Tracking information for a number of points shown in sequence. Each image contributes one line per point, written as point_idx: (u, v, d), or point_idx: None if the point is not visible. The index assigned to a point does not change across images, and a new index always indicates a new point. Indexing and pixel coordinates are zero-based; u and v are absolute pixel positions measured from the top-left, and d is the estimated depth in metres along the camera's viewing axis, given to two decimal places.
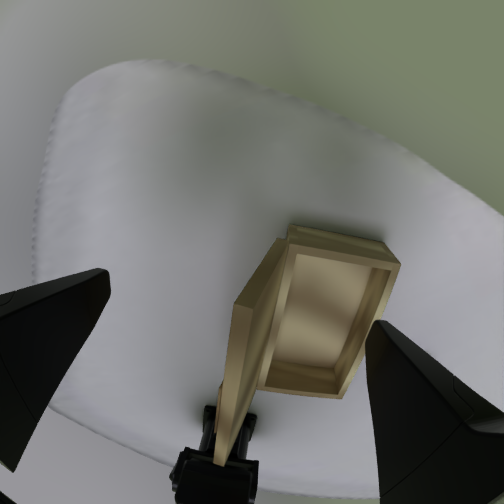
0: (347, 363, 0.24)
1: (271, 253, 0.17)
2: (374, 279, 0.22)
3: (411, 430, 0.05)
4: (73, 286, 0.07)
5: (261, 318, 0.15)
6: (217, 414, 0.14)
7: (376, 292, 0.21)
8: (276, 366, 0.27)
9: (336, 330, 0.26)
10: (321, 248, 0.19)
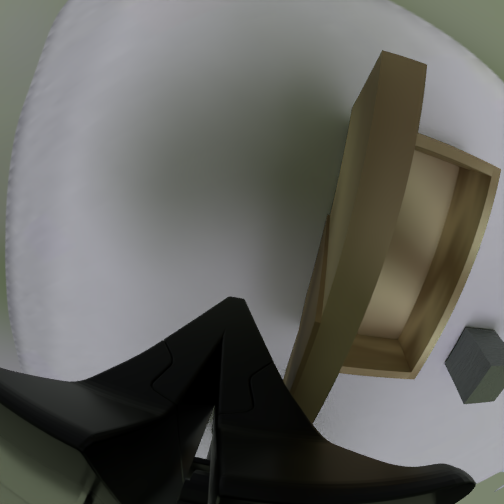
0: (426, 325, 0.16)
1: None
2: (461, 200, 0.14)
3: None
4: (229, 325, 0.07)
5: None
6: None
7: (469, 213, 0.13)
8: None
9: (408, 280, 0.18)
10: None
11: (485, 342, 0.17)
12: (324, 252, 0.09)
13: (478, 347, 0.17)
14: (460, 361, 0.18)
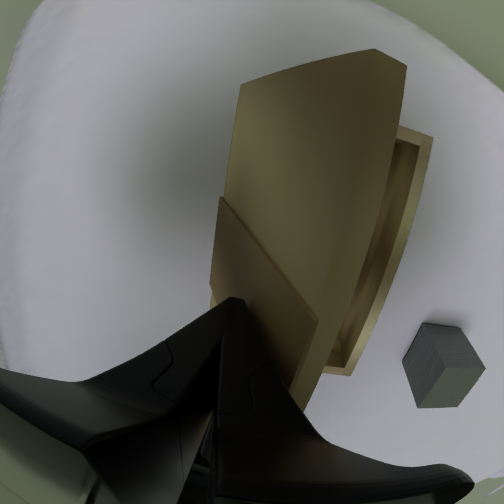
0: (359, 316, 0.16)
1: None
2: (394, 178, 0.14)
3: None
4: (230, 325, 0.07)
5: None
6: None
7: (400, 191, 0.13)
8: None
9: None
10: None
11: (444, 341, 0.17)
12: (254, 241, 0.09)
13: (434, 345, 0.17)
14: (416, 360, 0.19)
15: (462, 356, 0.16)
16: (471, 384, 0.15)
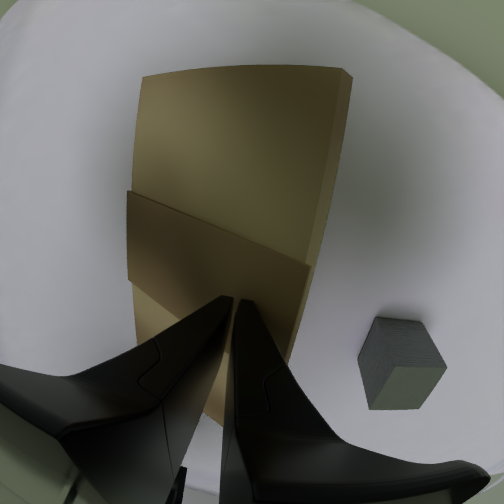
0: None
1: None
2: None
3: (227, 418, 0.05)
4: (219, 323, 0.07)
5: None
6: (291, 337, 0.08)
7: None
8: None
9: None
10: None
11: (399, 336, 0.17)
12: (205, 223, 0.09)
13: (385, 342, 0.17)
14: (369, 357, 0.18)
15: (419, 354, 0.15)
16: (432, 385, 0.15)
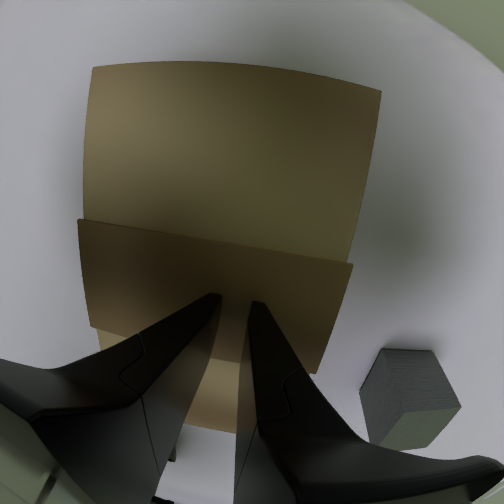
0: None
1: None
2: None
3: (244, 421, 0.05)
4: (205, 320, 0.07)
5: None
6: (331, 328, 0.09)
7: None
8: None
9: None
10: None
11: (408, 372, 0.14)
12: (223, 243, 0.08)
13: (392, 381, 0.14)
14: (373, 394, 0.15)
15: (430, 393, 0.12)
16: (443, 425, 0.12)
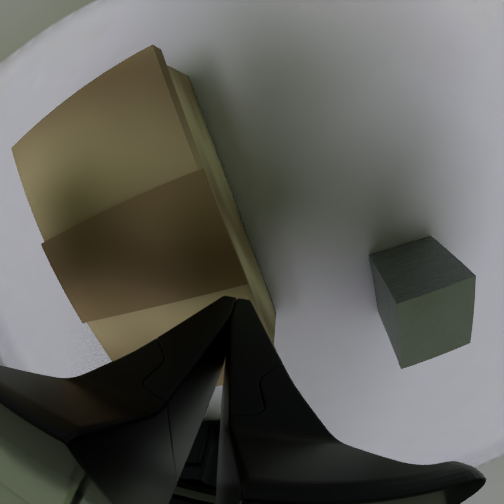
0: None
1: None
2: None
3: (223, 417, 0.05)
4: (223, 323, 0.07)
5: None
6: (227, 231, 0.10)
7: None
8: None
9: None
10: None
11: (400, 264, 0.13)
12: (114, 206, 0.10)
13: (382, 279, 0.13)
14: (382, 305, 0.15)
15: (431, 274, 0.12)
16: (469, 306, 0.11)
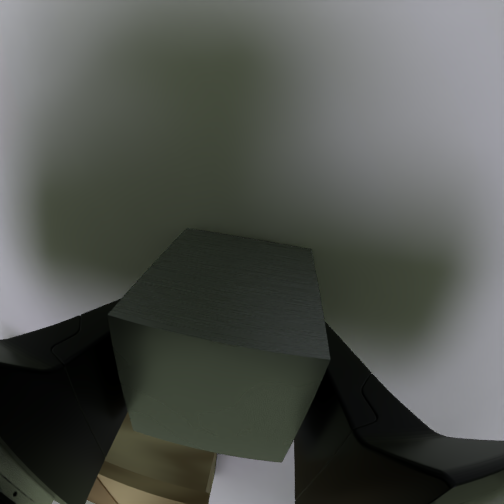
0: None
1: None
2: None
3: (316, 430, 0.05)
4: None
5: None
6: None
7: None
8: None
9: None
10: None
11: None
12: None
13: None
14: None
15: None
16: (187, 348, 0.05)
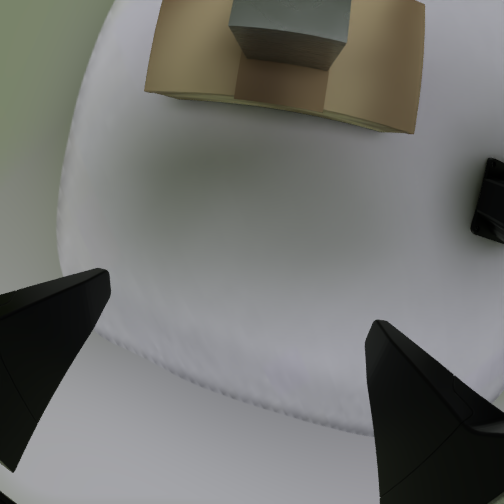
0: None
1: None
2: None
3: (411, 430, 0.05)
4: (73, 286, 0.07)
5: None
6: None
7: None
8: None
9: None
10: None
11: None
12: None
13: (240, 43, 0.10)
14: (294, 56, 0.11)
15: None
16: None
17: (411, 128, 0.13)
